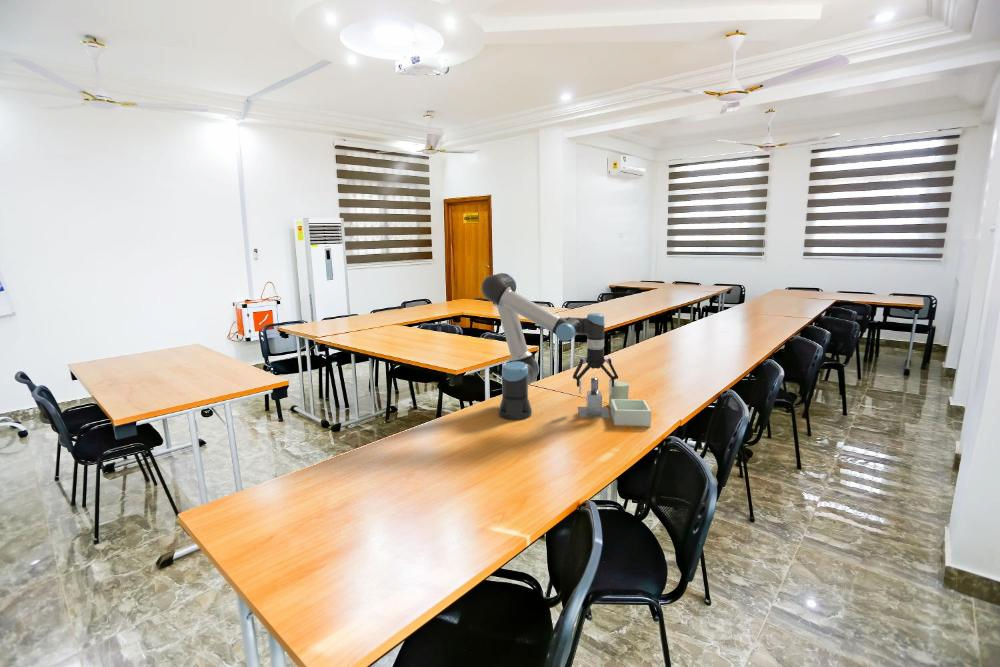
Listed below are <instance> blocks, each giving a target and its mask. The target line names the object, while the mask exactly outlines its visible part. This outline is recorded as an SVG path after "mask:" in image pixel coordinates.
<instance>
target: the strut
mask: <svg viewBox="0 0 1000 667" xmlns="http://www.w3.org/2000/svg"><path fill="white" fill-rule="evenodd" d="M585 404H586V406H585V407H586V410H587V414H593V415H602V407H603V394H602V391H599V378H598V377H591V378H590V390H586V403H585Z"/></svg>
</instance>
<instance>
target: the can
mask: <svg viewBox="0 0 1000 667" xmlns="http://www.w3.org/2000/svg"><path fill="white" fill-rule="evenodd" d="M629 392H630V383H629V382H627V381H623V380H614V387H612V394H610V393H609V392H608V394H609V395H608V408H609V407H610V408H611V399H629Z"/></svg>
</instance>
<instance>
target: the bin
mask: <svg viewBox="0 0 1000 667" xmlns="http://www.w3.org/2000/svg"><path fill="white" fill-rule="evenodd" d="M610 416H611V419H612V421H613V424H614V425H615V426H633V427H634V426H635V427H645V428H648V427H649V428H651V426H652V425H651V424H652V409H651V408H650V407H649V405H648V403H647V401H646V400H645V399H629V398H628V399H611V407H610Z"/></svg>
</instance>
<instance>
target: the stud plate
mask: <svg viewBox="0 0 1000 667" xmlns="http://www.w3.org/2000/svg"><path fill="white" fill-rule="evenodd" d="M577 411H578V417H579V418H590V419H591V418H598V419H599V418H600V419H601V418H602V419H612V416H611V412H610V410H609V406H608V407H606V406H602V415H593V414H587V410H586V406H577Z"/></svg>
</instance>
